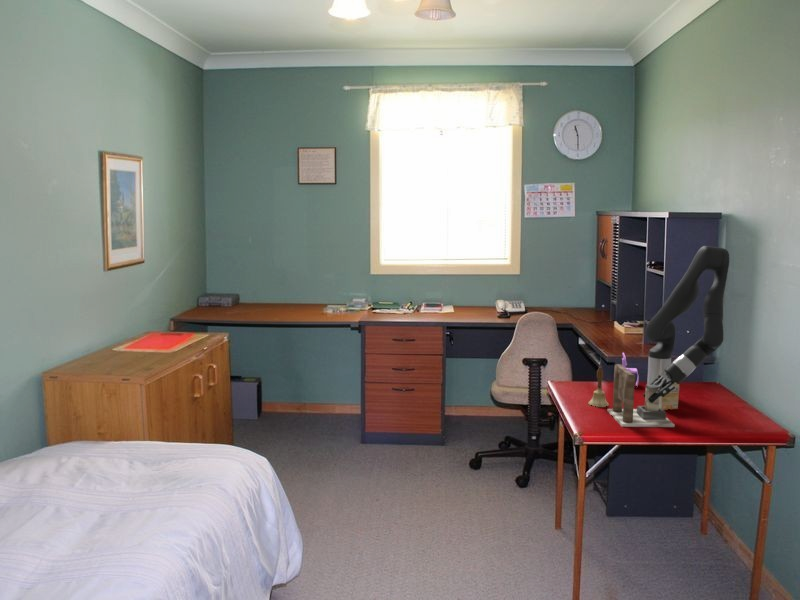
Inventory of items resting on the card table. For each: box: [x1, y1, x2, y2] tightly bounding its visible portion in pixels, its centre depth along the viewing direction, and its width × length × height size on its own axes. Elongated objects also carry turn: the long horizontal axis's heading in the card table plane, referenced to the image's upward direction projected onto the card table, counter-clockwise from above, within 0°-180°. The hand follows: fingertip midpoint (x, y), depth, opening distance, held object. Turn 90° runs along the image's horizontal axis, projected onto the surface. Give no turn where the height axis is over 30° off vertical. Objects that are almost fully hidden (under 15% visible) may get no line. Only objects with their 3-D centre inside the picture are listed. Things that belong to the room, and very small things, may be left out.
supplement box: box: [656, 376, 680, 411], centre depth 294 cm, size 8×5×13 cm, turn 106°
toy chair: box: [621, 352, 640, 388], centre depth 332 cm, size 8×9×15 cm
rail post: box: [644, 384, 659, 411], centre depth 279 cm, size 4×4×12 cm
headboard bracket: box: [607, 363, 675, 428], centre depth 279 cm, size 20×20×19 cm
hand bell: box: [587, 366, 610, 408], centre depth 299 cm, size 8×8×16 cm
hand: (647, 399), depth 279 cm, fingers open, 5 cm apart
